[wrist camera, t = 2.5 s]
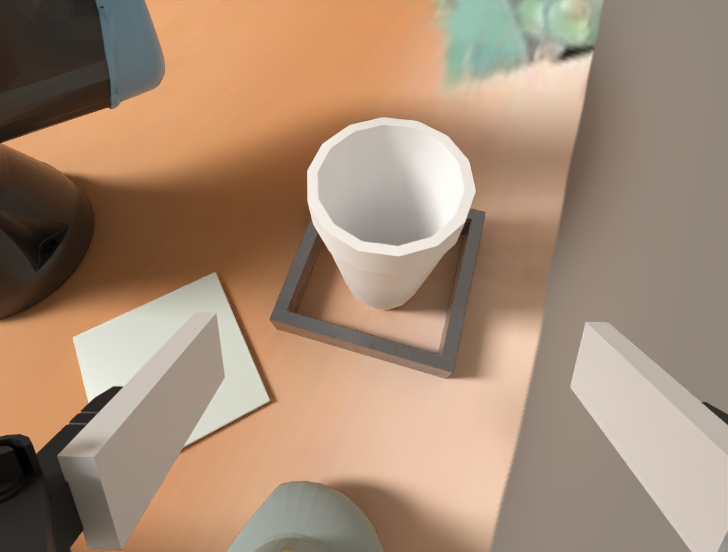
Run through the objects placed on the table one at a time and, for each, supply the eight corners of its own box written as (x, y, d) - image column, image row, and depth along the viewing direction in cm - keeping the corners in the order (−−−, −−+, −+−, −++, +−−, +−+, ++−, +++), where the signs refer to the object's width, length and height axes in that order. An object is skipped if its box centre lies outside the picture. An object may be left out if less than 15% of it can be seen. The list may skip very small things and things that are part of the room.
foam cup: (415, 345, 32) (444, 281, 20) (310, 305, 33) (277, 222, 21) (450, 247, 35) (492, 142, 23) (354, 214, 37) (346, 100, 25)
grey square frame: (276, 328, 32) (269, 319, 30) (331, 191, 38) (328, 174, 35) (446, 378, 30) (452, 372, 28) (478, 227, 36) (485, 212, 34)
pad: (76, 338, 32) (72, 337, 32) (216, 273, 34) (215, 271, 34) (112, 486, 28) (109, 486, 27) (270, 401, 30) (269, 400, 30)
